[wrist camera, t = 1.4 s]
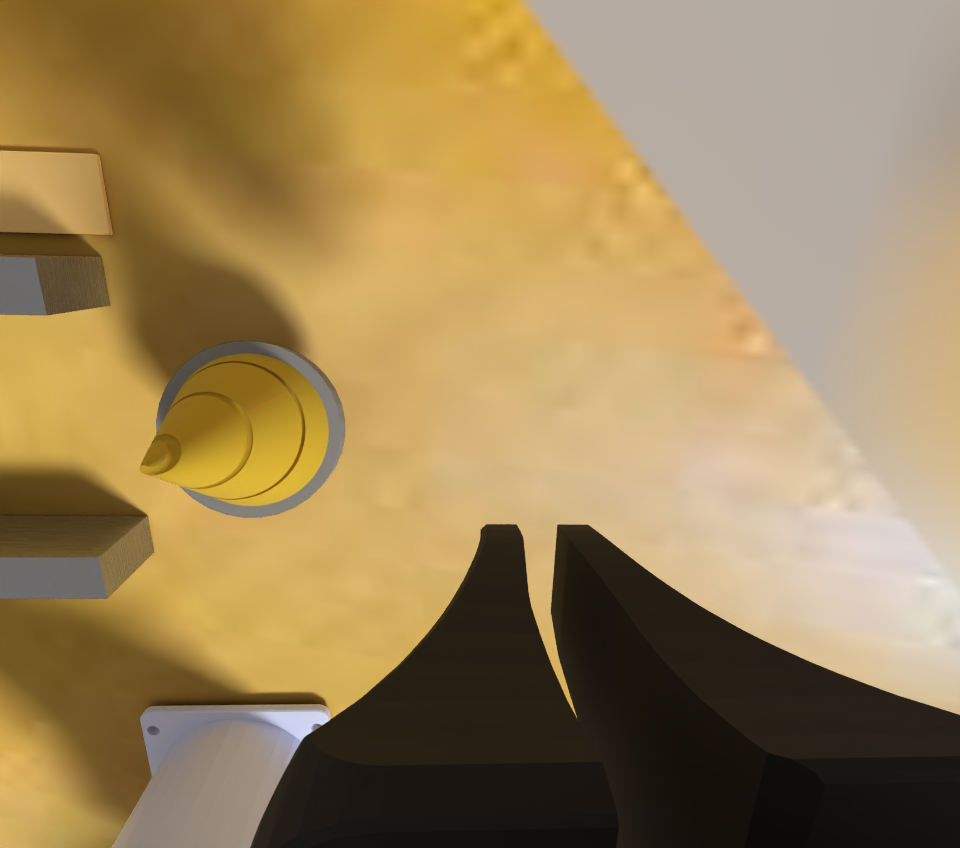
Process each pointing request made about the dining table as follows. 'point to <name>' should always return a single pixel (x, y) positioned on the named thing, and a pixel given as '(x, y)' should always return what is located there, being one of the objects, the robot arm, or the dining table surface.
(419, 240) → the dining table surface
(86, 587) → the bracket
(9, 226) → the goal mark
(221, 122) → the dining table surface
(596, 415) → the dining table surface
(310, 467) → the grooved yellow cone
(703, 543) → the dining table surface
